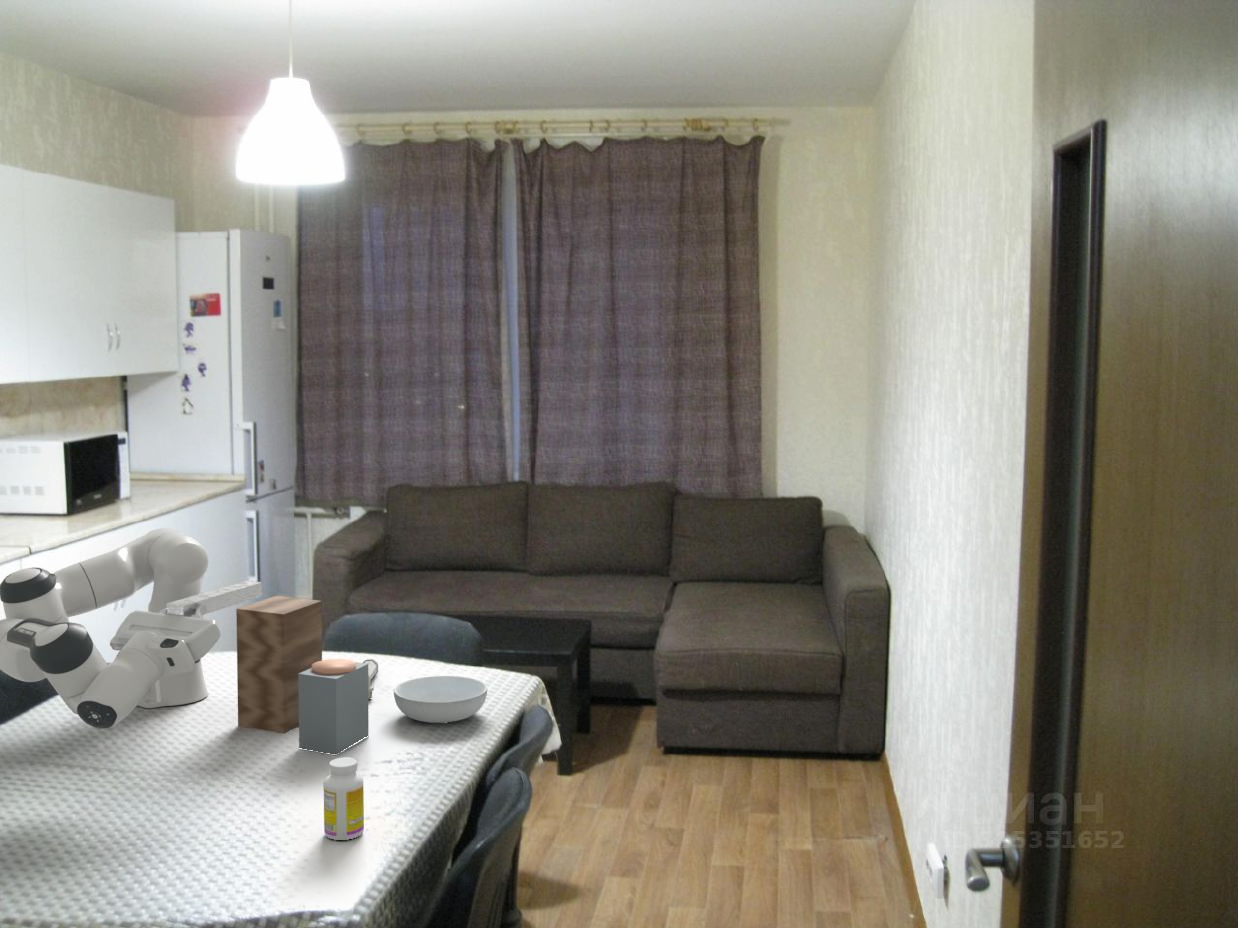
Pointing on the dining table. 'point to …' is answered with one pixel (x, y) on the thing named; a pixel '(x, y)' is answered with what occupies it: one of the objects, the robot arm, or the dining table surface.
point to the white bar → (217, 598)
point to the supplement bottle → (343, 800)
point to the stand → (275, 659)
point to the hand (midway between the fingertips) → (191, 604)
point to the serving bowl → (440, 698)
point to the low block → (333, 705)
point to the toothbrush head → (371, 674)
